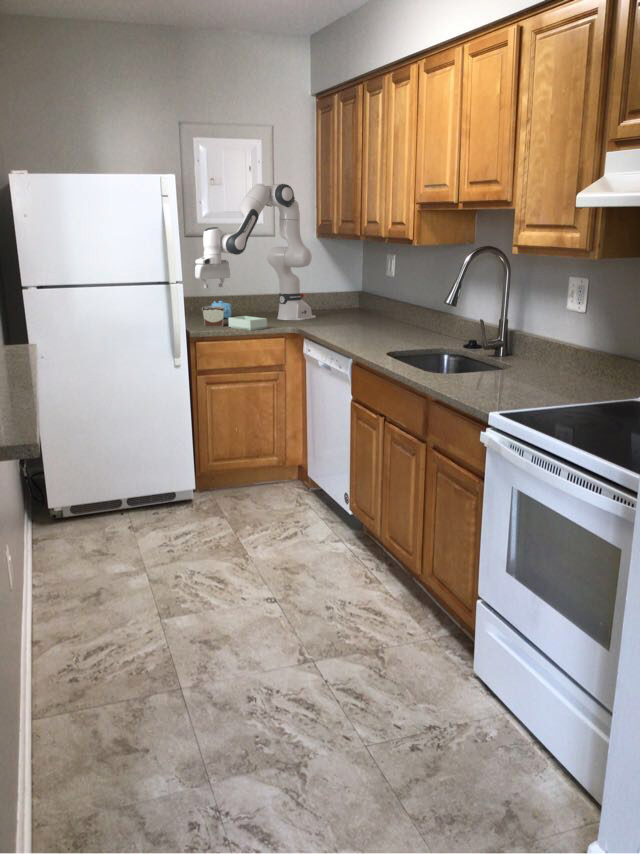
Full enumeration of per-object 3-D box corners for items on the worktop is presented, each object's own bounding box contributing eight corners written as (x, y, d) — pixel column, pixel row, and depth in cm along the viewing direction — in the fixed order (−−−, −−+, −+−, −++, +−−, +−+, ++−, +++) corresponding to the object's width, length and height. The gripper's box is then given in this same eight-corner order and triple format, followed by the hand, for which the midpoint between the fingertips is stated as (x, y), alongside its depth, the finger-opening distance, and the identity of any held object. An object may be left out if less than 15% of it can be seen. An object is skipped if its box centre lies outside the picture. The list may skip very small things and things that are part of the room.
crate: (245, 325, 398) (245, 315, 397) (267, 328, 387) (266, 318, 386) (228, 327, 391) (228, 317, 390) (250, 330, 379) (250, 320, 378)
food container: (228, 325, 400) (227, 305, 397) (225, 326, 394) (224, 307, 391) (205, 325, 401) (204, 305, 399) (202, 326, 395) (201, 307, 393)
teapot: (238, 320, 421) (238, 301, 418) (215, 321, 414) (214, 303, 411) (224, 316, 436) (223, 298, 433) (201, 318, 428) (200, 300, 426)
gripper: (224, 259, 398) (225, 286, 402) (192, 260, 384) (193, 288, 388) (232, 259, 394) (233, 286, 397) (200, 260, 380) (201, 289, 383)
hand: (213, 287), depth 392 cm, fingers open, 8 cm apart
